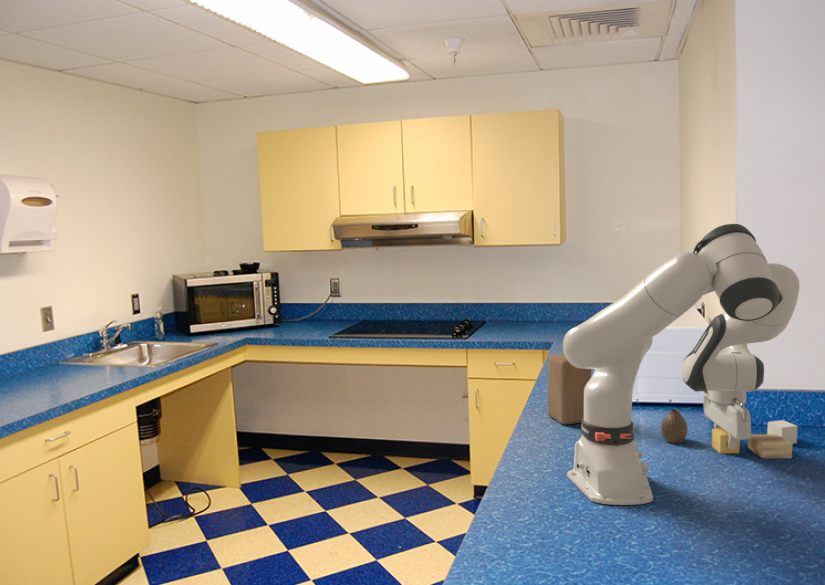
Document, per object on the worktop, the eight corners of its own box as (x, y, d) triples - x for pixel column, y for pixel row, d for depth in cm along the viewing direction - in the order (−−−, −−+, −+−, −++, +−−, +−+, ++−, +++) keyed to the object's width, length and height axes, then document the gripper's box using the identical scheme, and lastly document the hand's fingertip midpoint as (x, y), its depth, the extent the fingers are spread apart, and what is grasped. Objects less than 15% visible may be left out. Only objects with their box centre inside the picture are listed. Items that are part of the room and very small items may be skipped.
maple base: (791, 459, 164) (792, 444, 164) (762, 459, 165) (762, 444, 164) (776, 448, 172) (777, 434, 171) (747, 448, 172) (748, 434, 172)
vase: (665, 434, 183) (666, 405, 182) (690, 439, 179) (691, 409, 178) (657, 441, 178) (657, 411, 177) (682, 447, 174) (683, 416, 173)
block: (562, 426, 192) (563, 361, 190) (547, 416, 202) (547, 354, 200) (592, 422, 195) (592, 358, 193) (575, 412, 205) (575, 351, 202)
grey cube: (796, 443, 174) (797, 425, 174) (781, 445, 173) (782, 427, 173) (782, 437, 179) (783, 420, 179) (767, 439, 178) (767, 421, 178)
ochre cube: (739, 453, 168) (739, 434, 168) (719, 453, 169) (720, 435, 168) (730, 446, 173) (731, 428, 173) (711, 446, 174) (712, 428, 173)
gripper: (759, 405, 159) (756, 458, 160) (722, 383, 179) (720, 430, 181) (733, 405, 159) (731, 458, 161) (699, 383, 179) (698, 431, 181)
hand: (725, 443), depth 171 cm, fingers closed on ochre cube, 5 cm apart
